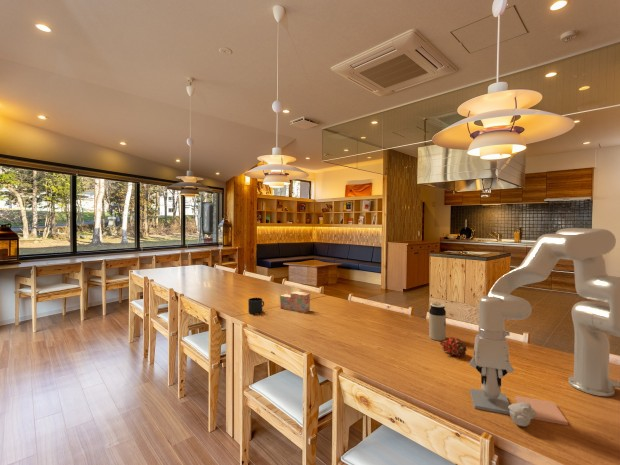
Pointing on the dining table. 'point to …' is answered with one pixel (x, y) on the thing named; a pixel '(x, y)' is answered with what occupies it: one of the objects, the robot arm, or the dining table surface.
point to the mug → (255, 305)
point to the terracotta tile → (544, 410)
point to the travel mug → (437, 322)
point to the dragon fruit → (454, 346)
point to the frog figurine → (521, 413)
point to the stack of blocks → (296, 301)
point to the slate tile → (490, 402)
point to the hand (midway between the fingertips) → (490, 386)
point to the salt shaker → (491, 384)
